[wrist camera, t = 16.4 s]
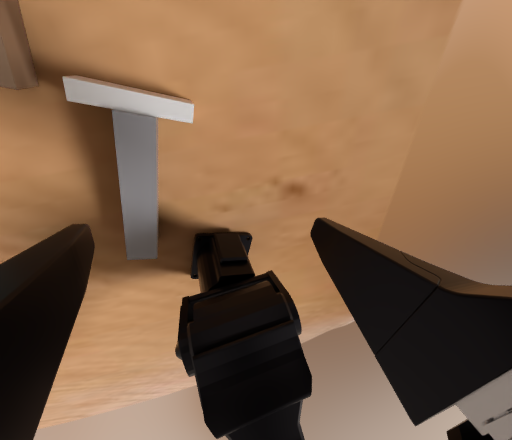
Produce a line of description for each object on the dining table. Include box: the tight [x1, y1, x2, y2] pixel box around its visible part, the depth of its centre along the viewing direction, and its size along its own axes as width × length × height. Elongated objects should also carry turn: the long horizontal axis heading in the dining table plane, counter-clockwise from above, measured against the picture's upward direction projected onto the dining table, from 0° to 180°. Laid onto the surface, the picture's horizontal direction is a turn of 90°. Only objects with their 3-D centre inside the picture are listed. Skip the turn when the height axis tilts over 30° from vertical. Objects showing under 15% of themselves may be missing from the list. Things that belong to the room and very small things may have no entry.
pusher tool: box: [62, 75, 194, 260], centre depth 17 cm, size 13×7×3 cm, turn 166°
